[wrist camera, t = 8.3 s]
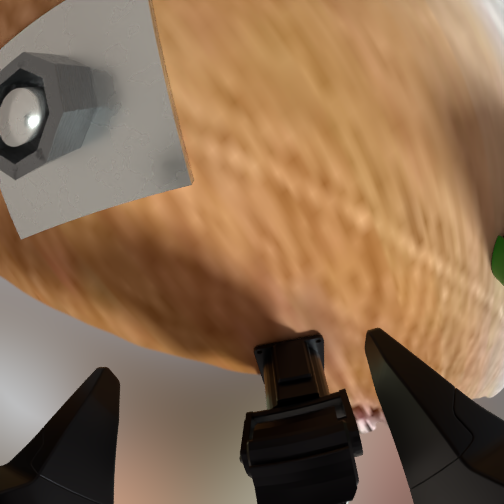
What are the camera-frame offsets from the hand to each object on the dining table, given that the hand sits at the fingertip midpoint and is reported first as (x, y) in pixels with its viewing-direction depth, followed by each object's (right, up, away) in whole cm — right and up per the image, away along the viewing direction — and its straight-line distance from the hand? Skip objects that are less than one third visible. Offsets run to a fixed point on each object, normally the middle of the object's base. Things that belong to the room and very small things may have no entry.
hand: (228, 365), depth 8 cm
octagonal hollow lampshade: (-12, +13, +4) cm, 18 cm away
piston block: (-12, +13, +5) cm, 19 cm away
